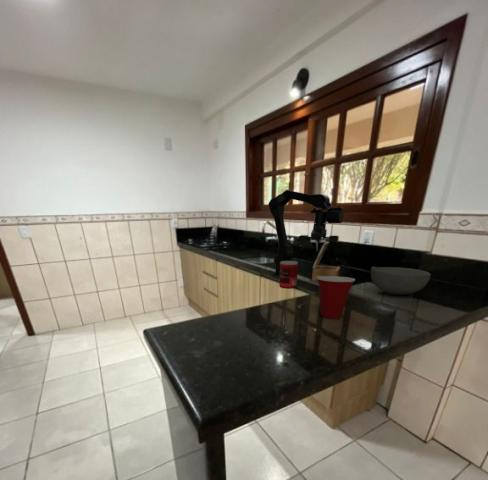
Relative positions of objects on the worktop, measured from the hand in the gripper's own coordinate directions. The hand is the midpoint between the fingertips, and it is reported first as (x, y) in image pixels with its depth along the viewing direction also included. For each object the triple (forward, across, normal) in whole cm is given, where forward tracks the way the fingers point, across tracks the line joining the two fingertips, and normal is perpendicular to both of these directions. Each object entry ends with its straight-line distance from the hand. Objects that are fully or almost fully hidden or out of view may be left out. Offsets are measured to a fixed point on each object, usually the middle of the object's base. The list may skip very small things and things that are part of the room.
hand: (316, 256), depth 132 cm
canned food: (+11, -7, -25) cm, 28 cm away
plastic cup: (+11, +16, -58) cm, 61 cm away
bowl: (+11, +36, -20) cm, 42 cm away
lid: (-1, +2, 0) cm, 2 cm away
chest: (+11, +6, 0) cm, 12 cm away
